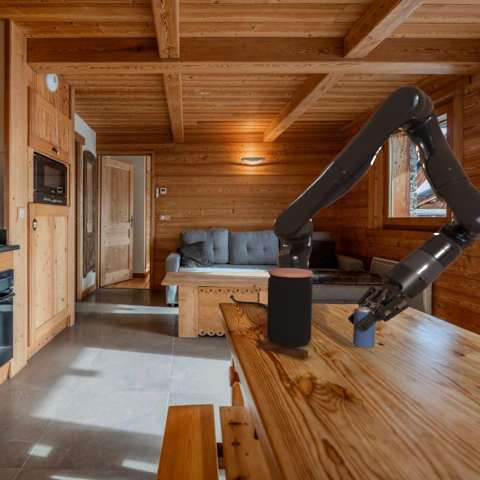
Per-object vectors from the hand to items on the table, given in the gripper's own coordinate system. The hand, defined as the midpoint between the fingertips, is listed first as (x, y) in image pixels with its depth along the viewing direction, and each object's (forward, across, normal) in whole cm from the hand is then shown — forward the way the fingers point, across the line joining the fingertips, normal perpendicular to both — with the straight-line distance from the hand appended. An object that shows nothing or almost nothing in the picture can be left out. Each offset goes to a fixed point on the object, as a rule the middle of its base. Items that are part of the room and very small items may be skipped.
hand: (355, 325), depth 88 cm
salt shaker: (+2, 0, +5) cm, 5 cm away
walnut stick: (+16, 0, -6) cm, 18 cm away
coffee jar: (+14, -8, -4) cm, 17 cm away
